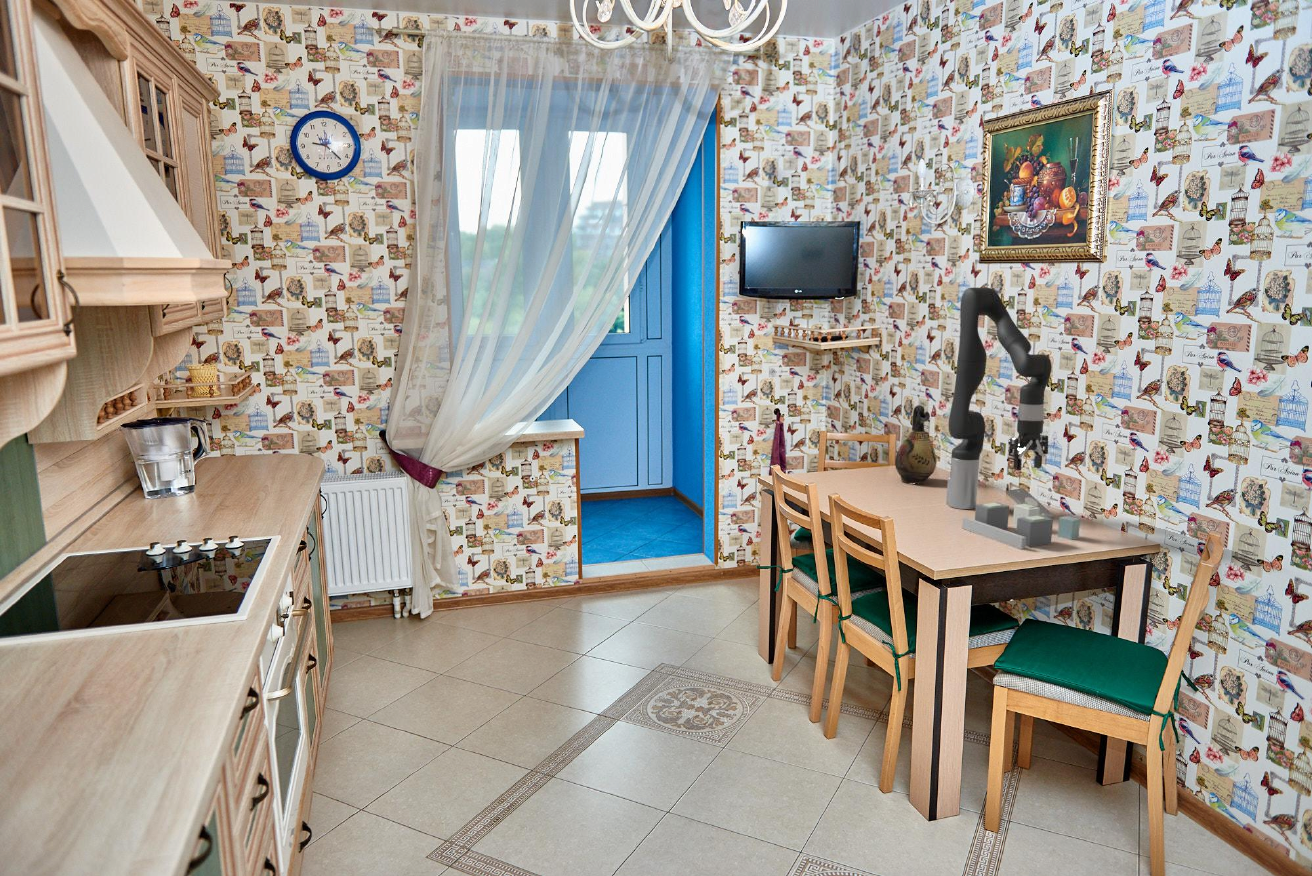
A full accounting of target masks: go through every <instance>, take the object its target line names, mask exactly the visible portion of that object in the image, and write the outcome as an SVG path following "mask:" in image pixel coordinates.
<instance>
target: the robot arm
mask: <svg viewBox="0 0 1312 876" xmlns="http://www.w3.org/2000/svg"><path fill="white" fill-rule="evenodd" d="M959 308H960V309H959V313H960V315H959V316H960V317H959V319H960V322H959V324H960V326H959V327H960V331H959V342H958V343H959V345H958V354H957V359H956V360H957V361H956V370H955V371H956V372H955V374H956V375H955V384H954V390H953V398H952V403H951V406H950V407H951V408H950V413H949V417H948V432H949V435H950V436H951V437H952V438H953V439H956V440H961V443H960V444H958V445H957V446H955V447H954V448H953V449H952V450H951V459H950V460H951V462H950V474H949V475H950V476H949V477H947V486H946V487H947V488H946V489H947V490H946V502H945V504H946V505H948V507H951V508H955V509H958V510H959V509H960V510H973V509H976V505H977V500H978V499H977V497H978V487H979V486H978V485H979V474H980V473H979V472H980V471H979V469H980V460H981V459H980V457H981V454H982V451H983V450H984V449H983V448H984V441H985V434H986V422H985V418H984V416H983V415H982V413H980V412H979V411H969V410H970V405H971V402H972V401H971V400H972V399H973V398H972V397H973V396H974V395H975V393H976V391H977V389H978V388H979V386H980V385H981V383H982V382H983V379H984V378H985V376H986V375H985V374H986V368H987V356H988V355H987V351H986V348H985V346H984V344H983V342H982V341H983V340H982V339H981V336H980V333H979V316H987V317H988V318H989V319H990V320H992V321H993V323H994V325H995V327H996V336H997V337H996V338H997V340H998V341H999V343H1000V344H1001V346H1002V347H1003V349H1004V350H1005V351H1006V352H1007V353H1008V354H1009V357H1010V360H1011V363H1012V365H1013V367H1014V370H1015V371H1016V373H1017V374H1018V375H1020V376H1021V377H1024V378H1030V380H1029V382H1028V383H1027V384H1024V385H1022V386H1021V387H1020V391H1019V403H1018V409H1017V419H1016V420H1017V423H1016V432H1017V434H1018V436H1017V437H1014V436H1013V437H1010V438H1009V439H1010V440H1009V447H1008V457H1012V458H1013V469H1014V470H1015V471H1022V463H1023V462H1022V457H1023V456H1024V455H1025V454H1026V453H1027V451H1028V452H1029V451H1032V452H1033V454H1034V461H1033V467H1034V468H1035V469H1041V468H1042V466H1043V457H1044V455H1047V454H1049V436H1048V435H1045V434H1043V432H1044V419H1045V418H1044V415H1045V409H1044V407H1045V406H1044V404H1045V403H1044V402H1045V390H1046V388H1047V386H1048V383H1049V380H1050V376H1051V373H1052V369H1053V368H1052V367H1053V366H1052V361H1051V359H1050V357H1049V356H1047V355H1046V354H1042V353H1041V354H1039V353H1038V354H1030V352H1031V349H1032V344H1031V342H1030V341H1029V340H1028V338H1027V337H1026V336H1025V335H1024V333H1022V331H1021V330H1020V329H1019V327H1018V326H1017V324H1015V322H1014V320H1013V319H1012V317H1011V315H1010V313H1009V311H1008V310H1007V308H1006V306H1005V304H1004V302H1003V301H1002V299H1001V297H1000V295H999V294H998V292H997V291H996V290H995V289H993V288H991V287H968V288H966V289H965V290H964V292H963V293H962V295H961V298H960V307H959Z"/></svg>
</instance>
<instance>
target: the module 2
mask: <svg viewBox="0 0 1312 876" xmlns="http://www.w3.org/2000/svg"><path fill="white" fill-rule="evenodd" d="M1080 526H1081V518H1079V517H1078V518H1077V517H1073V516H1069V515H1066V516H1060V517H1058V526H1057V527H1058V528H1057V537H1059V538H1062V539H1067V540H1070V541H1073V540H1075V539H1079V536H1080Z"/></svg>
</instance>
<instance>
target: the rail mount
mask: <svg viewBox="0 0 1312 876" xmlns="http://www.w3.org/2000/svg"><path fill="white" fill-rule="evenodd" d="M1009 513H1010V505H1006V504H1003V503H1000V502H991V503H985V504H984V503H981V504H976V508H975V511H974V519H973V518H969V517H962V526H961V529H962V530H965V529H966V530H965V531H967V532H970V531H971V532H972V533H973V534H976V533H977V534H976V535H979V534H980V535H979V536H982V537H985V538H988V539H990V538H991V539H990V540H994V541H996V540H997V541H996V542H999V543H1002V542H1003V543H1002V544H1004V545H1007V544H1008V546H1010V545H1011V547H1013V546H1014V547H1013V548H1017V549H1019V550H1026V547H1027V548H1031V547H1036V546H1043V545H1048V544H1049V545H1051V543H1052V539H1053V538H1052V534H1053V525H1054V524H1053V523H1054V519H1053V518H1052V519H1051V518H1047V517H1044V516H1041V515H1038V516H1030V517H1023V518H1018V519H1017V527H1016V532H1012V531H1008V527H1009V516H1010V515H1009ZM1003 529H1004V530H1003ZM971 532H970V533H971ZM1030 546H1031V547H1030Z"/></svg>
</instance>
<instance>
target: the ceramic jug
mask: <svg viewBox="0 0 1312 876" xmlns="http://www.w3.org/2000/svg"><path fill="white" fill-rule="evenodd" d="M930 417H931V415H930V413H929V411H925V407H924V406H923V405H921V404H917V405H916V406H914V409H913V412H912V424H911V425H912V426H911V432H910V433H909V434H908V435H907V436H906V437H905V439H904V440H903V441H902V442H901V444H900V446H899V448H898V449H897V453H896V455H895V460H894V465H895V469H896V472H897V473H898V475H899V476H900V481H901V482H902V483H904V484H909V483H915V484H914V485H921V484H920V483H924V484H926V482H927V480H928V479H929V478H930V477H931V476H932V475H933V474H934V472H935V470H936V467H937V466H936V465H937V457H936V456H937V455H936V452H935V448H934V445H933V443H932V441H931V439H930V438H929V436H928V434H927V432H926V430H925V422H927V421H929V420H930Z"/></svg>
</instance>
